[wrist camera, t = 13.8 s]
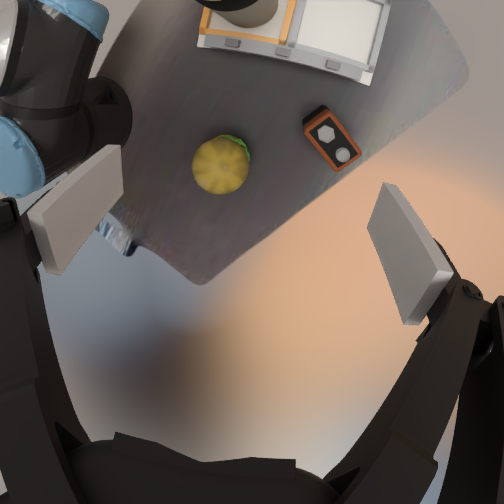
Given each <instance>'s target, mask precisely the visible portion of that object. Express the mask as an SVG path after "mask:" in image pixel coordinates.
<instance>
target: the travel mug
mask: <svg viewBox="0 0 504 504" xmlns="http://www.w3.org/2000/svg"><path fill="white" fill-rule="evenodd" d="M196 1H197V2H199V3H200V4H202V5H204V6H205V7H207V8H208V9H210V10H212V11H213V12H215V13H216V14H218V15H219V16H221V17H222V18H224V19H225V20H227V21H228V22H230V23H231V24H233V25H235V26H238V27H242V28H254V27H258V26H261V25H263V24H265V23H267V22H268V21H270V20H271V19H272V18H273V16H274V15H275V13H276V11H277V9H278V0H196Z"/></svg>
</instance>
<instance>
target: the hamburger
mask: <svg viewBox="0 0 504 504" xmlns="http://www.w3.org/2000/svg"><path fill="white" fill-rule="evenodd" d="M249 163H250V153H249V151H248V149H247V147H246V144H245V143H243V142H242V140H241V139H239V138H237V137H235V136H232V135H227V134H224V135H219V136H217V137H215V138H213V139H212V140H208V141H207V142H205V143H203V144H201V146H200V147H199V149H197V151H196V153H195V155H194V156H193V161H192V164H191V165H192V173H193V175H194V179H195V180H196V182H197V184H198V185H199V186H200V187H202V188H203V189H204V190H206V191H208V192H210V193H214V194H218V195H220V194H227V193H230V192H233V191H234V190H236V189H238V188H239V187H240V186H241V185H242V184H243V183H244V181H245V179H246V178H247V176H248V171H249Z"/></svg>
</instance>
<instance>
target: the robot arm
mask: <svg viewBox="0 0 504 504" xmlns="http://www.w3.org/2000/svg"><path fill="white" fill-rule="evenodd" d="M108 20H109V12H108V10H107V8H106V7H105V6H103V5H102V4H100V3H98V2H95V1H92V0H10V1H9V2H7V3H6V4H5V5H4V6H2V7H1V8H0V191H1V192H2V193H3V194H5V195H6V196H9V197H7V198H3V199H0V470H1V473H2V476H3V479H4V482H5V485H6V488H7V492H5V493H4V494H2V495H0V504H420V502H421V500H422V499H423V497H424V495H425V493H426V492H427V490H428V488H429V486H430V484H431V482H432V480H433V478H434V477H435V474H436V472H437V469H438V462H437V461H435V460H434V459H433V455H434V453H435V451H436V448H437V446H438V444H439V442H440V440H441V438H442V435H443V433H444V430H445V428H446V426H447V424H448V421H449V419H450V416H451V414H452V411H453V409H454V406H455V403H456V401H457V398H458V395H459V402H458V410H457V418H456V424H455V430H454V436H453V441H452V447H451V452H450V457H449V461H448V465H447V470H446V474H445V478H444V482H443V485H442V489H441V492H440V496H439V499H438V502H437V504H504V296H498V297H497V299H496V300H495V301H494V303H493V304H492V303H489V302H487V301H485V300H483V295H482V293H481V291H480V290H479V289H478V287H477V286H476V285H474V284H473V283H472V282H470V281H468V280H465V279H461V277H460V275H459V273H458V272H457V270H456V269H455V267H454V265H453V263H452V262H451V261H450V259H449V257H448V255H446V252H445V250H444V249H443V247H442V246H441V245H440V244H439V243H438V242H437V241H436V240H435V239H434V238H433V237H432V236H431V234H430V233H429V231H428V230H427V228H426V227H425V225H424V224H423V222H422V221H421V219H420V218H419V216H418V215H417V213H416V212H415V211H414V209H413V208H412V206H411V205H410V203H409V202H408V201H407V199H406V198H405V197H404V195H403V194H402V192H401V191H400V190H399V188H398V187H397V186H396V185H393V184H389V183H384V182H383V184H382V187H381V190H380V193H379V196H378V199H377V202H376V204H375V207H374V210H373V213H372V215H371V218H370V221H369V223H368V226H367V229H368V231H369V234H370V236H371V239H372V241H373V243H374V246H375V248H376V251H377V253H378V256H379V258H380V261H381V263H382V266H383V269H384V271H385V274H386V276H387V279H388V282H389V284H390V287H391V290H392V293H393V296H394V298H395V301H396V304H397V307H398V310H399V313H400V316H401V319H402V322H403V325H420V323H421V322H422V320H423V319H424V318H425V316H426V315H427V317H428V319H429V324H428V325H427V327H426V328H425V329H424V331H423V332H422V333H421V335H420V336H419V337H418V339H417V340H416V341H417V342H418V343H417V345H416V347H415V349H414V351H413V353H412V355H411V357H410V359H409V360H408V362H407V364H406V366H405V368H404V369H403V371H402V373H401V375H400V376H399V378H398V380H397V382H396V383H395V385H394V386H393V388H392V390H391V391H390V393H389V395H388V396H387V398H386V399H385V401H384V402H383V404H382V406H381V407H380V409H379V410H378V412H377V413H376V415H375V416H374V418H373V419H372V420H371V422H370V423H369V425H368V426H367V428H366V429H365V431H364V432H363V433H362V435H361V436H360V437H359V439H358V440H357V441H356V443H355V444H354V445H353V447H352V448H351V450H350V451H349V452H348V453H347V455H346V456H345V457H344V458H343V459H342V460H341V461H340V463H338V465H336V466H335V467H334V468H333V469H332V470H331V471H330V472H329V473H328V474H327V475H326V476H325V477H324V478H323V479H321V478H319V477H318V476H316V475H314V474H312V473H310V472H307V471H305V470H302V469H299V468H296V459H272V458H256V457H249V458H242V459H233V460H225V461H215V462H200V461H197V460H195V459H192V458H190V457H187V456H185V455H183V454H181V453H178V452H176V451H174V450H172V449H169V448H167V447H165V446H163V445H161V444H159V443H157V442H152V441H148V440H144V439H140V438H136V437H133V436H129V435H125V434H122V433H118V432H115V435H114V439H113V440H100V441H95V442H91V441H90V439H89V437H88V435H87V434H86V432H85V430H84V429H83V427H82V426H81V424H80V422H79V420H78V418H77V415H76V413H75V410H74V408H73V405H72V402H71V399H70V397H69V394H68V391H67V388H66V385H65V382H64V379H63V376H62V372H61V369H60V366H59V363H58V359H57V355H56V352H55V348H54V344H53V340H52V336H51V332H50V328H49V323H48V319H47V314H46V309H45V304H44V299H43V293H42V287H41V281H40V274H39V271H38V269H37V266H38V265H39V264H40V262H41V261H42V263H43V265H44V268H45V271H46V273H50V274H55V275H59V276H61V274H62V273H63V271H64V270H65V268H66V267H67V266H68V264H69V263H70V261H71V260H72V259H73V257H74V256H75V254H76V253H77V252H78V250H79V249H80V247H81V246H82V245H83V243H84V242H85V241H86V239H87V238H88V237H89V236H90V234H91V233H92V232H93V230H94V229H95V228H96V226H97V225H98V224H99V223H100V221H101V220H102V219H103V218H104V216H105V215H106V214H107V213H108V211H109V210H110V209H111V208H112V206H113V205H114V204H115V203H116V202H117V200H118V199H119V198H120V197H121V196H122V195H123V180H122V166H121V148H122V147H123V146H124V144H125V143H126V141H127V139H128V137H129V134H130V131H131V126H132V111H131V106H130V102H129V100H128V97H127V95H126V94H125V92H124V91H123V89H122V88H121V87H120V86H119V85H118V84H117V83H115V82H114V81H112V80H110V79H107V78H102V77H95V78H89V79H88V77H89V74H90V71H91V67H92V65H93V62H94V59H95V56H96V52H97V50H98V47H99V45H100V43H102V41H103V38H102V36H103V34H104V31H105V28H106V25H107V22H108ZM78 163H83V164H81V165H80V166H79V167H78V168H76V169H75V170H74V171H73V172H71V173H70V174H69V175H68V176H67V177H65V178H64V179H63V180H62V181H61V182H60V183H58V184H57V185H56V186H55V187H54V188H52V189H50V190H48V191H47V192H46V193H44V194H43V195H42V196H41V198H39V199H38V200H37V201H36V202H35V203H34V204H32V206H30V207H29V208H28V209H27V210H26V211H25V212H24V213H23V214H22V215H21V216H20V214H19V210H18V207H17V203H16V200H15V198H23V197H25V196H27V195H29V194H31V193H32V192H34V191H37V190H39V189H41V188H42V187H43V186H45V185H46V184H48V183H49V182H51V181H52V180H53V179H55V178H56V177H58V176H59V175H61V174H63V173H64V172H66V171H67V170H69V169H70V168H72V167H74V166H75V165H77V164H78ZM491 349H492V350H491ZM490 351H491V352H490Z"/></svg>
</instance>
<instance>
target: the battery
mask: <svg viewBox="0 0 504 504" xmlns="http://www.w3.org/2000/svg"><path fill="white" fill-rule="evenodd" d="M303 129H304V134H305V135H306V137H307V138H308V139H309V140H310V142H311V143H312V144H313V145H314V146H315V148H316V149H317V150H318V151H319V153H320V154H321V155H322V156H323V157H324V159H325V160H326V161H327V163H328V164H329V165H330V166H331V168H332V169H333V170H334V171H335V172H339V171H340V170H342V169H343V168H344V167H346V166H347V165H349V164H350V163H352V162H353V161H354V160H356V159H357V158H359V157H360V156H361V155H362V152H361V150H360V149H359V147H358V146H357V144H356V143H355V142H354V140H353V139H352V138H351V136H350V135H349V134H348V132H347V131H346V130H345V128H344V127H343V126H342V124H341V123H340V122H339V121H338V119H337V118H336V117H335V116H334V114H333V113H332V112H331V111H330V110H329V109H328V108H327V106H325V105H322V106H320V107H319V108H318V109H316V110H315V111H314V112H312V113H311V114H310V115H308V116H307V117H306V118H304V119H303Z"/></svg>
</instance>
